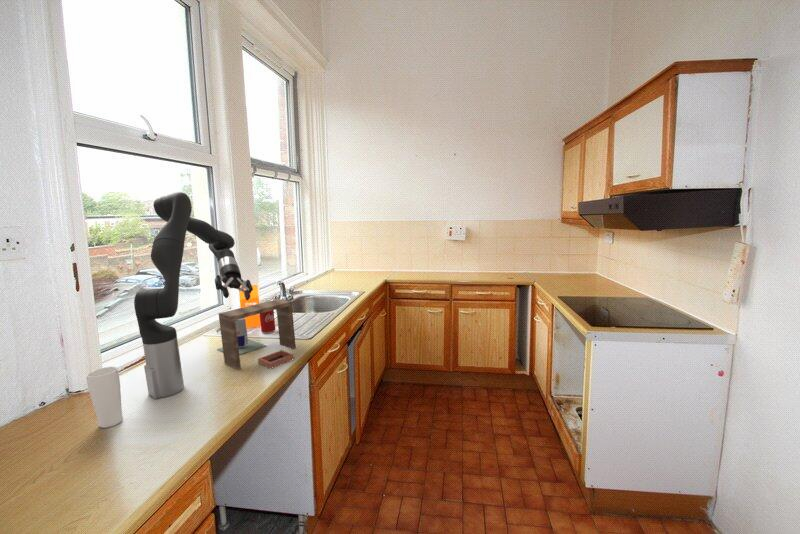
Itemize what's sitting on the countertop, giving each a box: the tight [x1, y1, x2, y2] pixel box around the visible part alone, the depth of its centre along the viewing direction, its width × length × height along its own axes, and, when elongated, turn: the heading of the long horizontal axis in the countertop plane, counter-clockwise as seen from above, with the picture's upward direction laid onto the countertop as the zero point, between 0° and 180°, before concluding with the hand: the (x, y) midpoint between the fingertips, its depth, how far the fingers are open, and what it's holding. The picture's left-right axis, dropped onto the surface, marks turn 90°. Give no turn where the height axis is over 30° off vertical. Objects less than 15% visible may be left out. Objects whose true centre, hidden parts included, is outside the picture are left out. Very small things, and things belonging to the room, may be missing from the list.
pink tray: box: [257, 349, 295, 369], centre depth 144 cm, size 10×8×2 cm
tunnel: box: [218, 298, 297, 371], centre depth 149 cm, size 25×9×20 cm, turn 140°
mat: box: [216, 339, 267, 356], centre depth 160 cm, size 14×14×1 cm
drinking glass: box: [86, 366, 124, 429], centre depth 105 cm, size 7×7×15 cm
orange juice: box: [238, 284, 261, 329], centre depth 191 cm, size 8×9×20 cm
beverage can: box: [259, 310, 276, 335], centre depth 179 cm, size 6×6×12 cm
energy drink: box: [235, 318, 248, 349], centre depth 159 cm, size 5×5×12 cm
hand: (237, 297), depth 153 cm, fingers open, 8 cm apart
